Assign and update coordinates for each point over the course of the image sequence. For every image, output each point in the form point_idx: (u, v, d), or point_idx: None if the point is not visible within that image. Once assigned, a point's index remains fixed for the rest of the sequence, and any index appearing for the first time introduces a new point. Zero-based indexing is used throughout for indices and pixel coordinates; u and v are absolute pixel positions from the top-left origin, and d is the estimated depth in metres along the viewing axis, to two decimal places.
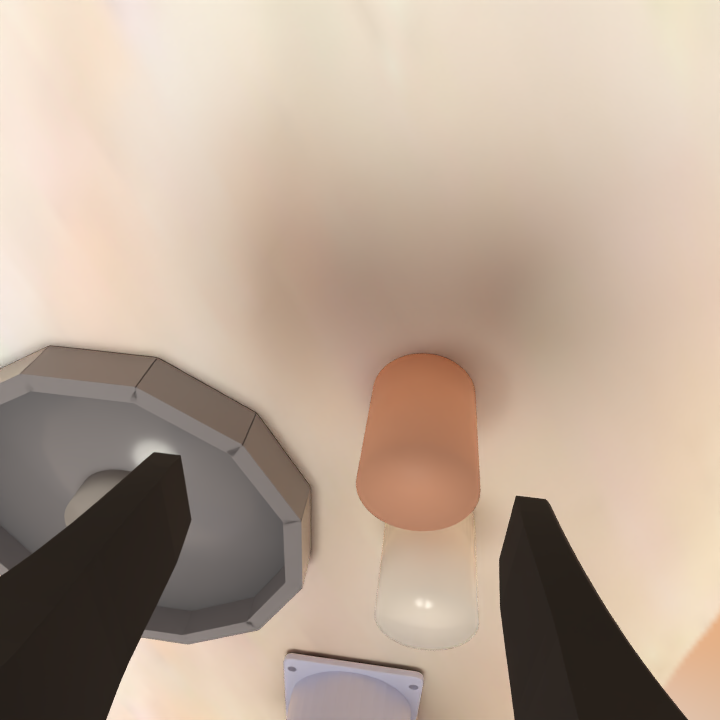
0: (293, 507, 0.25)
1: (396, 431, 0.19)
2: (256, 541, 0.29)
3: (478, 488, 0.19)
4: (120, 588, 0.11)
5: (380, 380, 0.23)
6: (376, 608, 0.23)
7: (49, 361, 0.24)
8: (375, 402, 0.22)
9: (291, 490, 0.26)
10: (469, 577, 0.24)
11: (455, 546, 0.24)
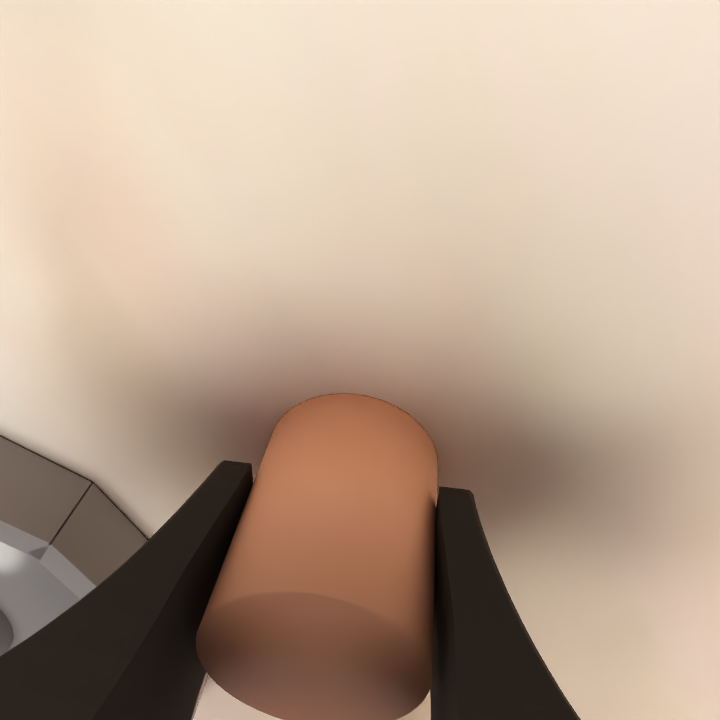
0: None
1: (265, 560, 0.10)
2: None
3: (427, 672, 0.10)
4: (202, 600, 0.11)
5: (272, 440, 0.13)
6: None
7: None
8: (255, 483, 0.12)
9: None
10: None
11: None
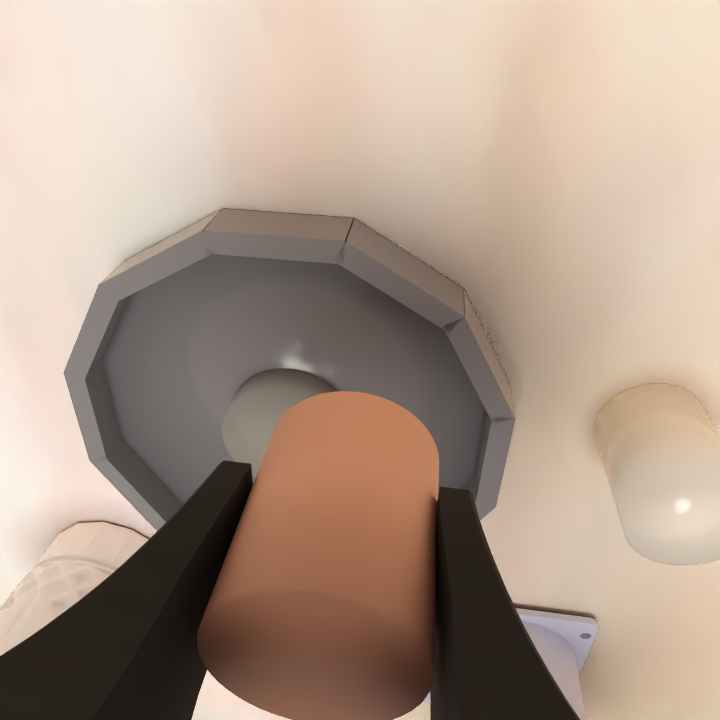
0: (507, 401, 0.21)
1: (267, 557, 0.10)
2: None
3: (429, 669, 0.10)
4: (202, 600, 0.11)
5: (274, 437, 0.13)
6: (629, 510, 0.19)
7: (230, 220, 0.20)
8: (256, 481, 0.12)
9: (502, 382, 0.22)
10: None
11: (714, 439, 0.20)
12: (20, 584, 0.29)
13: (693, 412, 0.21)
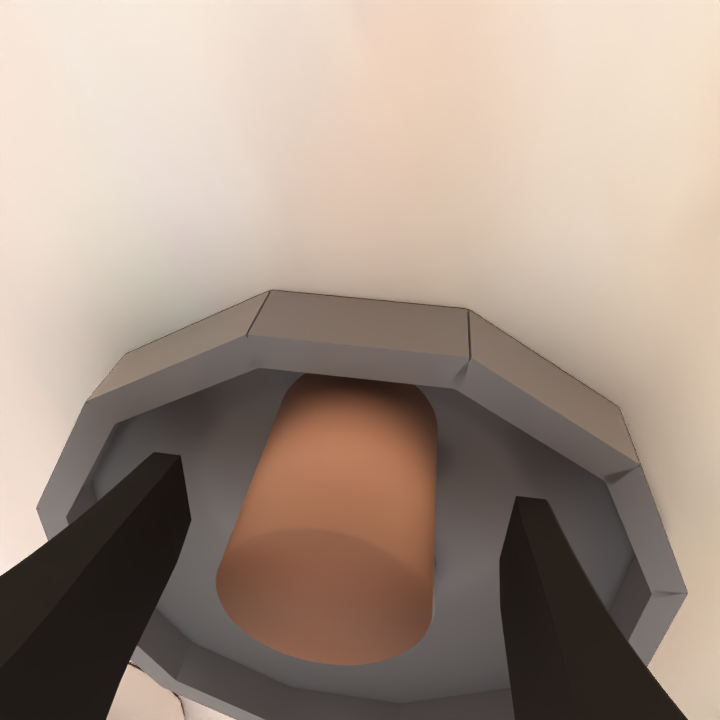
0: (679, 570, 0.15)
1: (280, 503, 0.11)
2: None
3: (428, 605, 0.11)
4: (120, 588, 0.11)
5: (283, 404, 0.14)
6: None
7: (286, 314, 0.13)
8: (268, 442, 0.13)
9: None
10: None
11: None
12: None
13: None
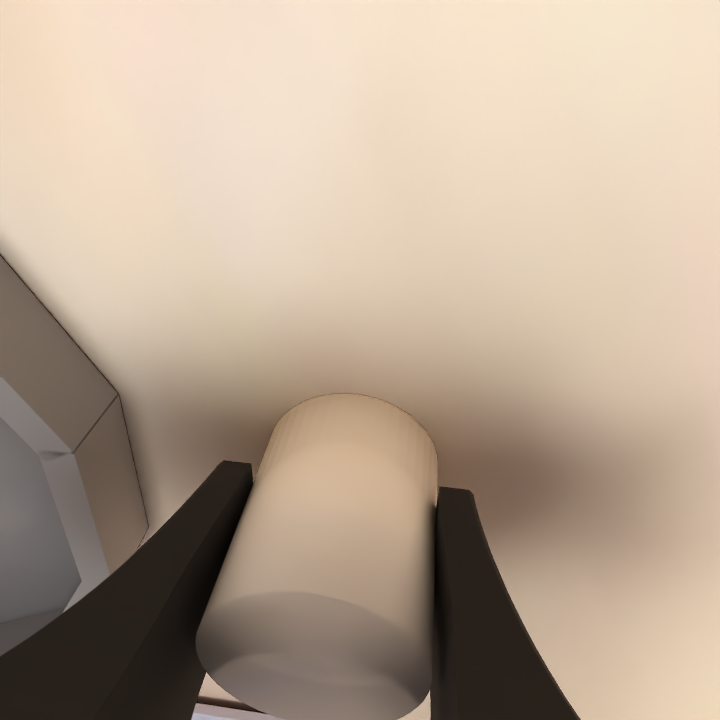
0: (53, 422, 0.12)
1: None
2: (38, 505, 0.16)
3: None
4: (202, 599, 0.11)
5: None
6: (198, 639, 0.10)
7: None
8: None
9: (55, 389, 0.12)
10: (412, 567, 0.10)
11: (384, 499, 0.11)
12: None
13: (373, 448, 0.12)
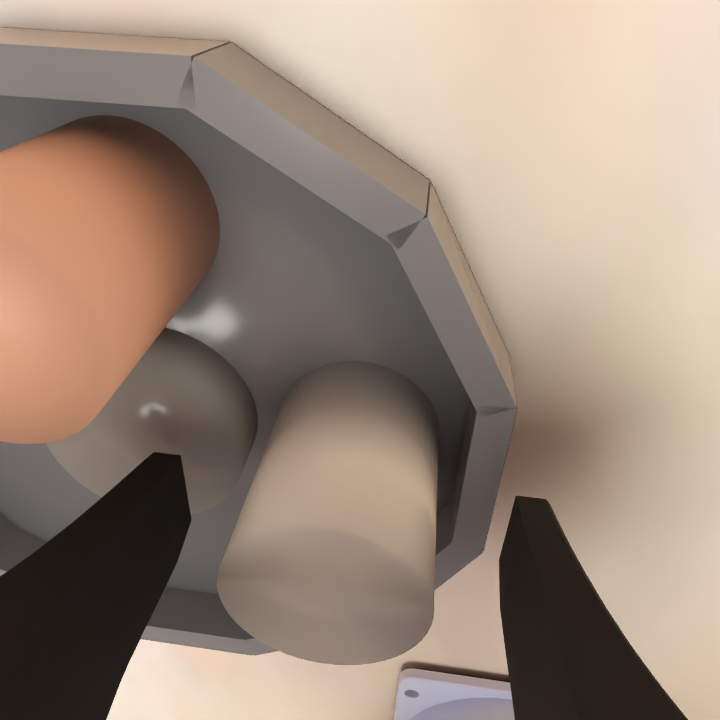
0: (504, 378, 0.12)
1: None
2: None
3: (94, 328, 0.08)
4: (120, 588, 0.11)
5: None
6: (219, 577, 0.11)
7: None
8: None
9: (495, 346, 0.13)
10: (416, 512, 0.11)
11: (389, 452, 0.12)
12: None
13: (379, 407, 0.13)
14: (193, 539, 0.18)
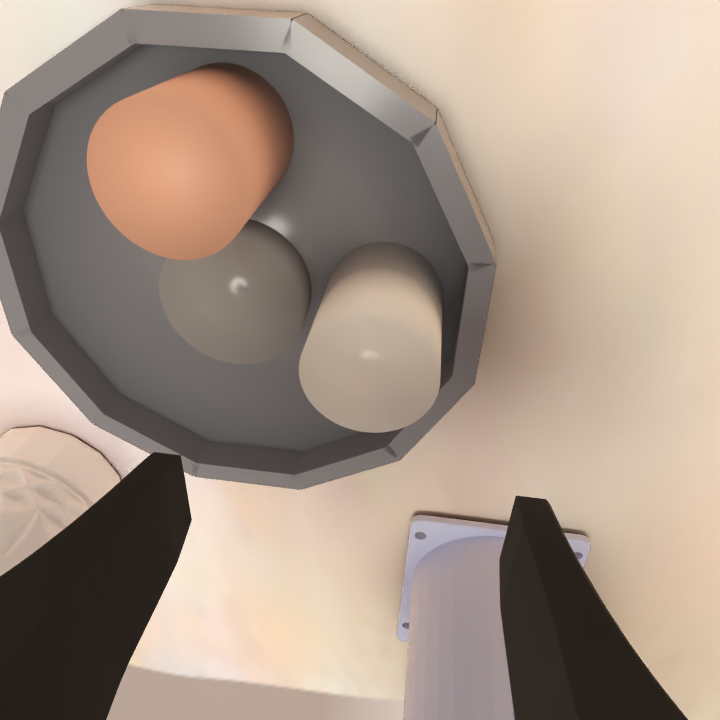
0: (487, 241, 0.18)
1: (131, 96, 0.14)
2: None
3: (243, 174, 0.14)
4: (120, 588, 0.11)
5: None
6: (300, 361, 0.17)
7: (158, 7, 0.17)
8: None
9: (481, 222, 0.19)
10: (428, 320, 0.17)
11: (411, 287, 0.18)
12: None
13: (402, 265, 0.19)
14: (256, 397, 0.24)
